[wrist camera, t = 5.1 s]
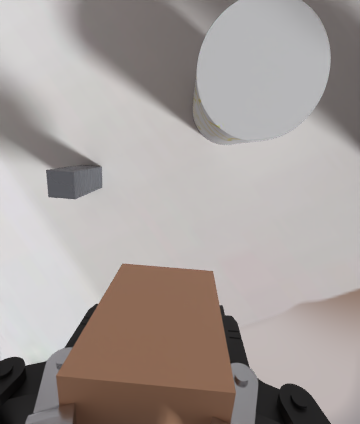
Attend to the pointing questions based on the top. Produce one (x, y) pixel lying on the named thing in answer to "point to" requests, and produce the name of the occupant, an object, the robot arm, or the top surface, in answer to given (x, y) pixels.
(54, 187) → the post
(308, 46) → the white round cylinder
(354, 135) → the top surface
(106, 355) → the tan cardboard box
